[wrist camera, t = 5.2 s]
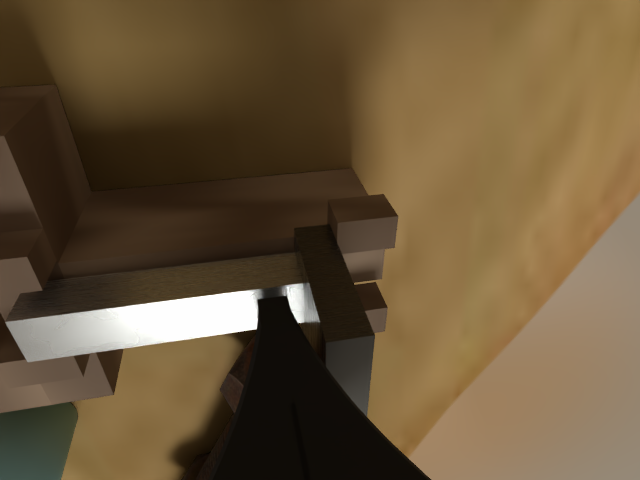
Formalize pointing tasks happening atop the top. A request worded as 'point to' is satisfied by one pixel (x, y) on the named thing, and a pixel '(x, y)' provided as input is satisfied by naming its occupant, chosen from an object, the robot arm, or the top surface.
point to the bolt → (231, 391)
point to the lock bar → (206, 307)
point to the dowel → (36, 442)
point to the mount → (148, 234)
